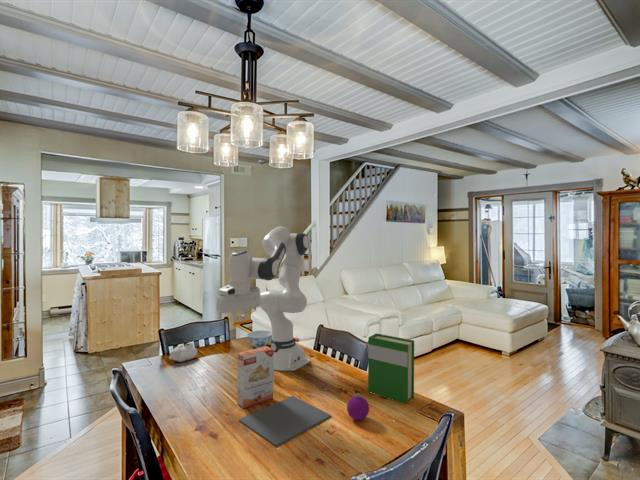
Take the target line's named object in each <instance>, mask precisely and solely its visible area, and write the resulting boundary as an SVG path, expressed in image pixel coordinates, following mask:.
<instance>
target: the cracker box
mask: <svg viewBox="0 0 640 480" xmlns="http://www.w3.org/2000/svg"><path fill="white" fill-rule="evenodd" d="M236 366H237V368H236V369H237V372H236V373H237V375H236V377H237V379H236V381H237V383H236V385H237V387H236V389H237V390H236V404H237V405H238V406H239V407H241V408H242V409H246V408H249V407H252V406H255V405H258V404H260V403H263V402H266V401H270V400H273V398H274V371H275V370H274V349H272V348H271V347H269V346H267V345H265V347H261V348H252V349H249V350H245V351H240V352H237V365H236Z"/></svg>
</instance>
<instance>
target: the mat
mask: <svg viewBox="0 0 640 480" xmlns="http://www.w3.org/2000/svg"><path fill="white" fill-rule="evenodd" d="M331 417H332V415H331V413H328V412H325V411H324V410H321V409H320V408H318V407H316V406H314V405H312V404H310V403H308V402H307V401H304V400H302V399H300V398H298V397H296V396H294V395H292V396H288V397H287V398H284V399H282V400H280V401H278V402H274V403H273V404H271V405H268V406H266V407H264V408H261V409H259V410H257V411H255V412H252V413H250V414H247V415H245V416H243V417H240V418H238V422H240V423H241V424H243V425H244V426H245V427H247V428H248V429H250V430H252V432H254V433H255V434H257V435H258V436H259V437H261V438H262V439H264V440H265V441H266V442H269V444H271V445H273V446H274V447H275V448H276V447H279V446H281V445H282V444H284V443H286V442H287V441H290V440H291V439H294V438H296V437H297V436H299V435H300V434H302V433H305V432H307V431H308V430H310V429H311V428H313V427H315V426H317V425H319V424H320V423H323V422H324V421H326V420H328V419H330V418H331Z"/></svg>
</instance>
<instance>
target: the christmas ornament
mask: <svg viewBox="0 0 640 480" xmlns="http://www.w3.org/2000/svg"><path fill="white" fill-rule="evenodd" d="M346 412H347V414H348V415H349V418H351V419H353V420H354V421H362V420H364V419H366V417H368V416H369V412H370V405H369V402H368V400H367V399H366V398H364V397H363V396H361V394H360V393H356V394H355V395H354V396H353V397H350V399H348V401H347V405H346Z"/></svg>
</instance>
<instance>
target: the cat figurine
mask: <svg viewBox="0 0 640 480" xmlns="http://www.w3.org/2000/svg"><path fill="white" fill-rule="evenodd" d="M196 356H198V350H197V348H196V347H194V343H192V342H186V343H184V345H183V344H177V346H175V347H174V349H173V350H171V352H170V355H168V359H169V360H174V361H175V362H178V363H179V362H180V363H182V362H185V361H191V360H192V359H194V358H195V357H196Z"/></svg>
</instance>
